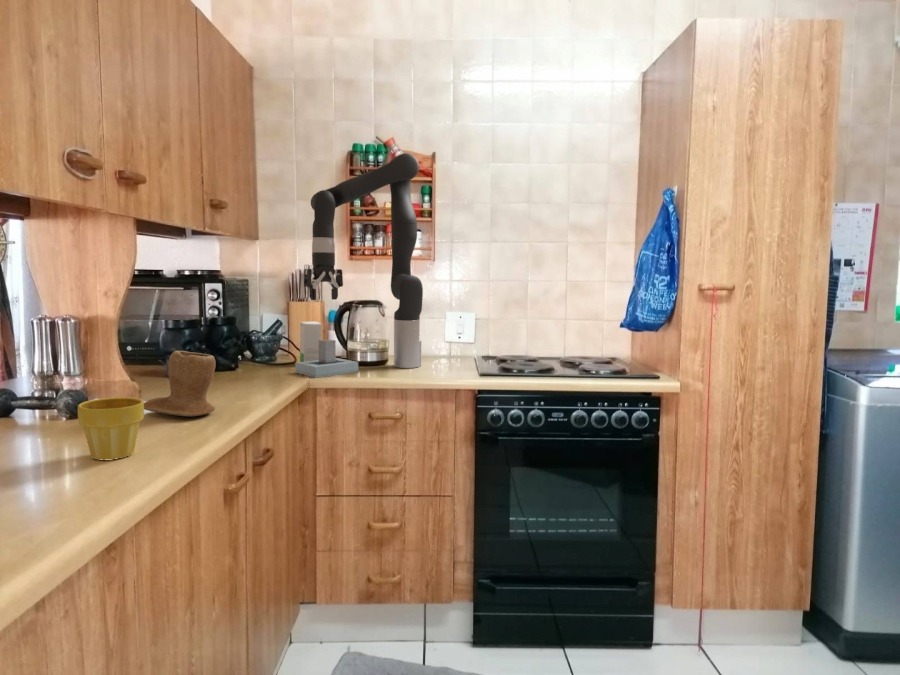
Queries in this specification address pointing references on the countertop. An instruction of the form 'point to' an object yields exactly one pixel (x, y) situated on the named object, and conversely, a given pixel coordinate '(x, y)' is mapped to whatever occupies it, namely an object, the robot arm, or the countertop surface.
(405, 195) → the robot arm
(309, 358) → the skincare box
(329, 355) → the bracket
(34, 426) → the countertop surface
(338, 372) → the well block
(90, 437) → the plant pot
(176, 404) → the brown hat-shaped piece
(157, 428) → the countertop surface
